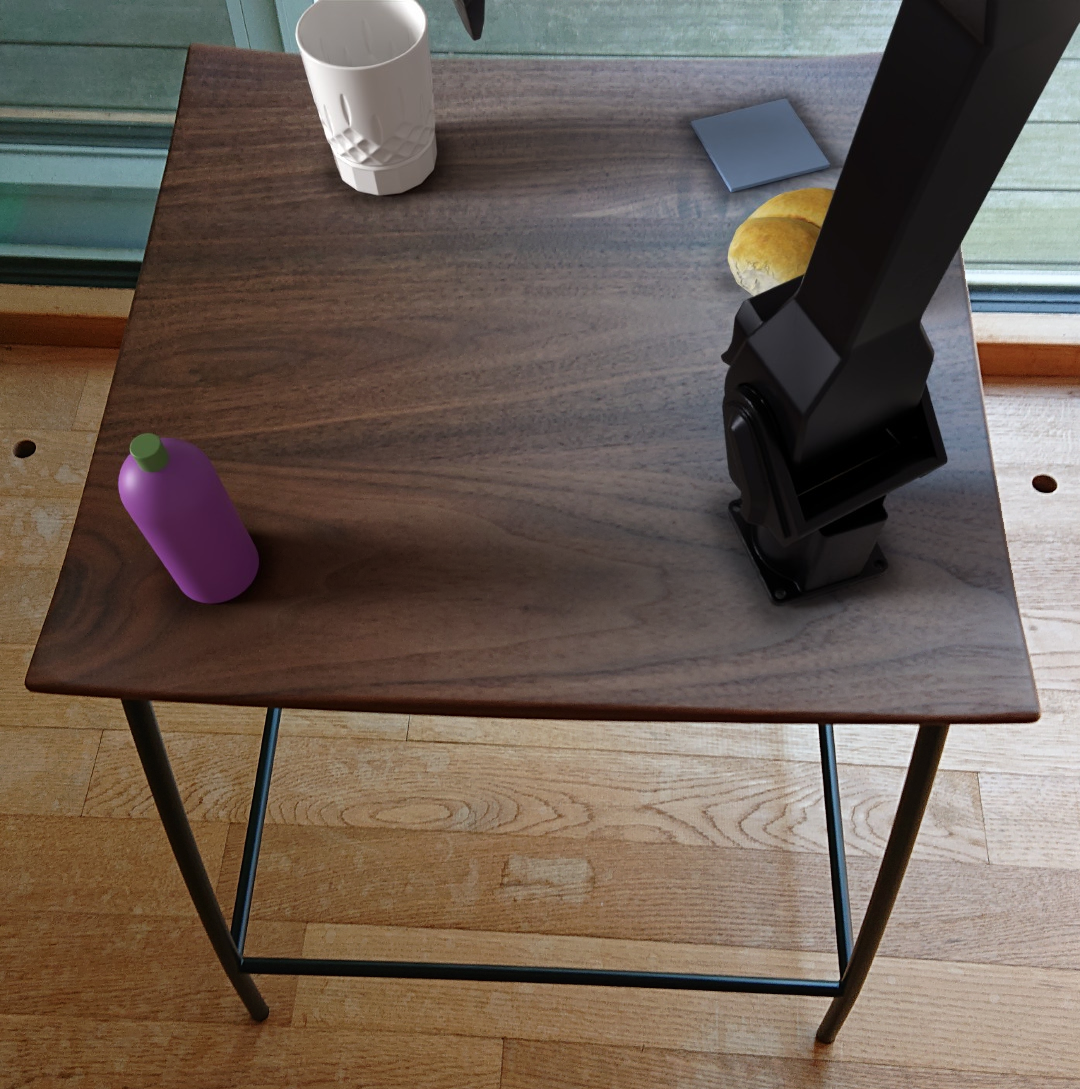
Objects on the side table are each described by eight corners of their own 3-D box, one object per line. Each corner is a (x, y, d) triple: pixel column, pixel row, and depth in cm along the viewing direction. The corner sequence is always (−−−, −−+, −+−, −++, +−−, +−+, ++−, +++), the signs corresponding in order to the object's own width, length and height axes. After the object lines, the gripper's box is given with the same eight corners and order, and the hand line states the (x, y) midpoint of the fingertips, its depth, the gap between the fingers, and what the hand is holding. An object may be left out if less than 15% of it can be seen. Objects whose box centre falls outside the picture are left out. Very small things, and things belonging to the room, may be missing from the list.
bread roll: (897, 256, 67) (915, 206, 64) (811, 339, 64) (824, 291, 61) (790, 194, 70) (801, 143, 67) (702, 270, 67) (709, 221, 64)
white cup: (316, 140, 74) (281, 4, 66) (425, 110, 75) (405, -27, 67) (346, 216, 70) (314, 83, 62) (461, 183, 72) (445, 48, 63)
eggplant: (266, 590, 57) (201, 471, 47) (183, 614, 56) (100, 498, 47) (251, 522, 59) (187, 394, 49) (171, 544, 58) (89, 420, 49)
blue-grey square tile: (829, 167, 71) (830, 163, 71) (730, 192, 70) (731, 189, 70) (785, 101, 75) (786, 98, 74) (690, 124, 74) (691, 121, 74)
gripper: (660, -485, 47) (627, -135, 62) (262, -382, 43) (325, -33, 58) (803, -357, 43) (732, -13, 58) (380, -230, 39) (415, 105, 54)
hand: (551, 6), depth 57 cm, fingers open, 9 cm apart
